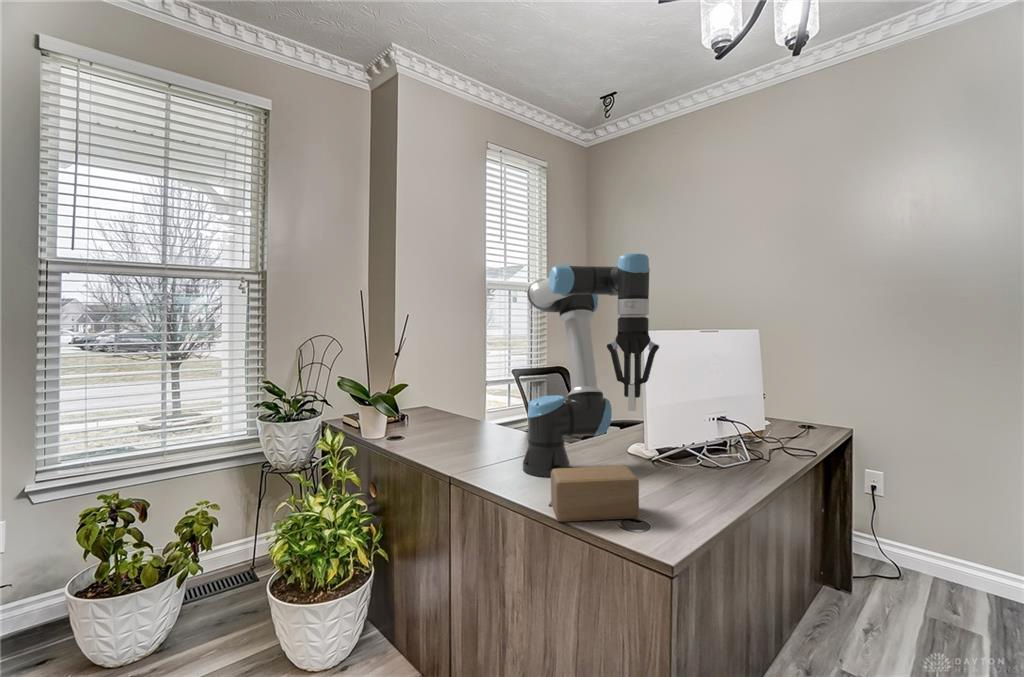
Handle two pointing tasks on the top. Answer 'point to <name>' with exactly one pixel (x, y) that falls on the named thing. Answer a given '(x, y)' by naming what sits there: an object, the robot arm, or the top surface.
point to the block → (594, 493)
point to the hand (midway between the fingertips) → (632, 410)
